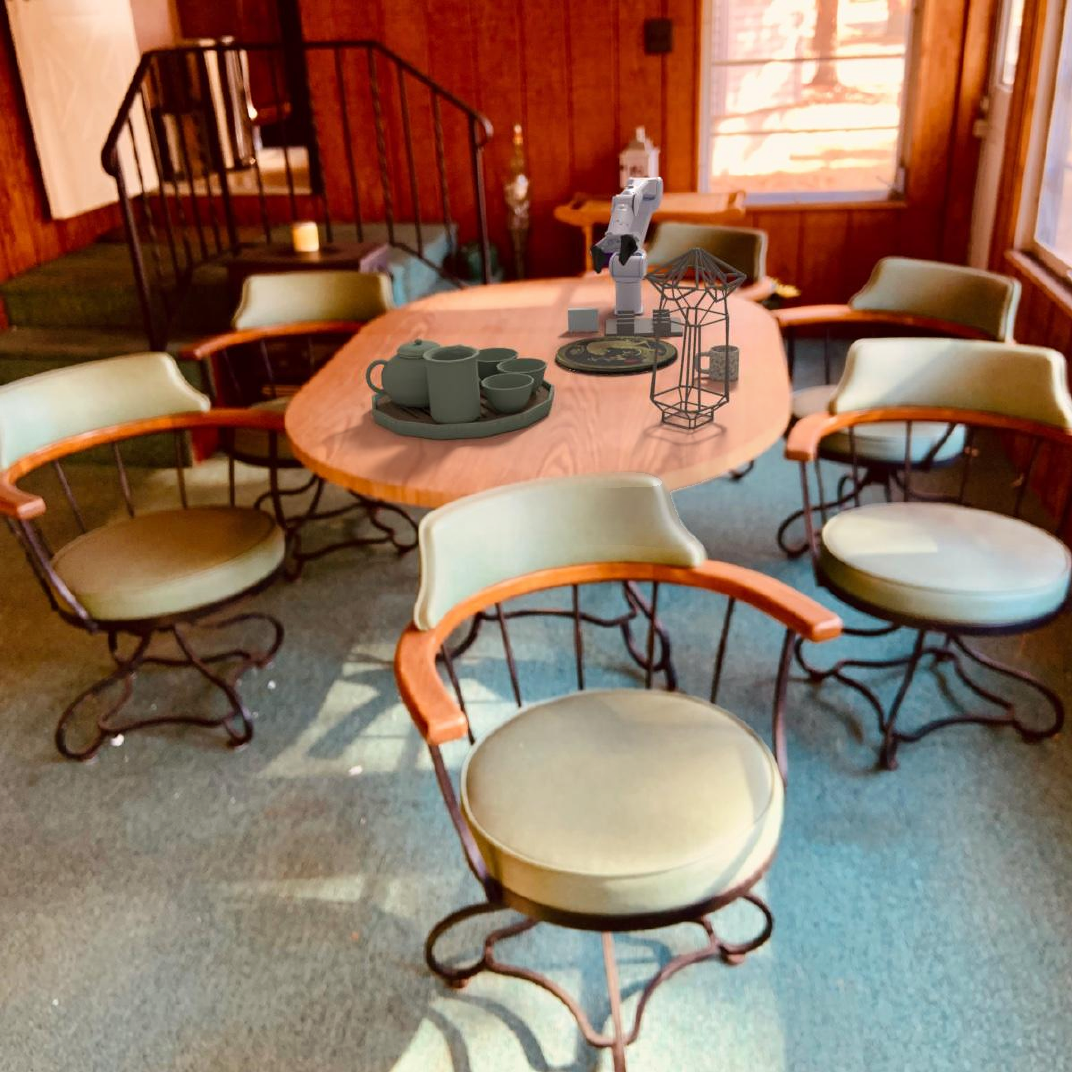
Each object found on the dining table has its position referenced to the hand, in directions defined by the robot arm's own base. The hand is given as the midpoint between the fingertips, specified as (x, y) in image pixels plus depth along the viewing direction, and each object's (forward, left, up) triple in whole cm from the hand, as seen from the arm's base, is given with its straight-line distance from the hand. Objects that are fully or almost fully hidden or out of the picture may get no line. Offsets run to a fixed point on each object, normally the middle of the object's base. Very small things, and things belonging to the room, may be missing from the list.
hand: (609, 267), depth 277 cm
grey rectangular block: (-2, -7, -17) cm, 19 cm away
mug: (+41, +25, -17) cm, 51 cm away
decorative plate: (+23, +2, -18) cm, 29 cm away
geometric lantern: (+70, +18, -17) cm, 74 cm away
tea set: (+59, -31, -18) cm, 69 cm away
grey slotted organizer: (-2, +9, -17) cm, 19 cm away
